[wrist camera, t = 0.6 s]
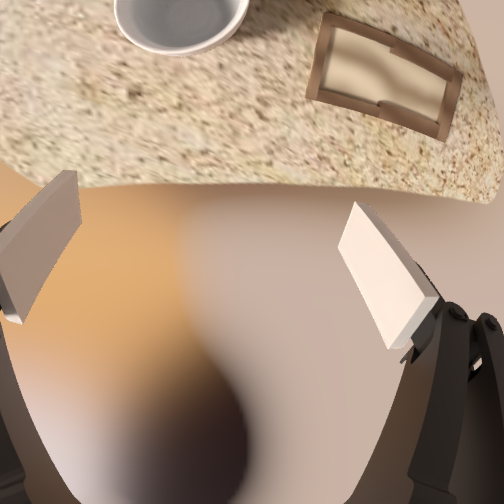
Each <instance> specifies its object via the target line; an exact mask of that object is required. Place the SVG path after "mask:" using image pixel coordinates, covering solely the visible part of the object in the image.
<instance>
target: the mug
mask: <svg viewBox="0 0 504 504" xmlns="http://www.w3.org/2000/svg"><path fill="white" fill-rule="evenodd" d="M249 2H250V0H114V13H115V18H116V21H117V24H118V26H119V28H120V30H121V31H122V32H123V34H124V35H125V36H126V37H127V38H128V39H129V40H130V41H131V42H133V43H134V44H136V45H137V46H139V47H141V48H143V49H145V50H148V51H151V52H154V53H159V54H162V55H169V56H179V57H180V56H182V57H184V56H192V55H197V54H202V53H205V52H207V51H210V50H212V49H215V48H216V47H218V46H220V45H221V44H223V43H224V42H225V41H227V40H228V39H229V38H230V37H231V36H232V35H233V34H234V33H235V32H236V30H237V29H238V28H239V26H240V24H241V23H242V21H243V19H244V18H245V15H246V13H247V8H248V7H249Z"/></svg>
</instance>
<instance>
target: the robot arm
mask: <svg viewBox="0 0 504 504" xmlns="http://www.w3.org/2000/svg"><path fill="white" fill-rule="evenodd" d="M78 193H79V192H78V180H77V171H74V170H63V171H62V172H61V173H60V174H58V175H57V176H56V177H55V178H54V179H53V180H52V181H51V182H49V183H48V184H47V185H46V186H45V187H44V188H43V189H42V190H41V191H40V192H39V193H38V194H37V195H36V196H35V197H34V198H33V199H32V200H31V201H30V202H29V203H28V204H27V205H26V206H25V207H24V208H23V209H22V210H21V211H20V212H19V213H18V214H17V215H16V216H15V217H14V218H13V219H12V220H11V221H9V222H7V223H6V224H5V225H3V226H2V227H1V228H0V310H1V309H2V311H3V312H4V315H5V317H6V319H7V320H8V321H12V322H15V323H19V324H23V323H24V321H25V319H26V317H27V315H28V313H29V311H30V309H31V307H32V305H33V303H34V301H35V299H36V297H37V295H38V293H39V292H40V290H41V288H42V286H43V284H44V282H45V280H46V279H47V277H48V275H49V274H50V272H51V270H52V268H53V267H54V265H55V264H56V262H57V260H58V258H59V257H60V255H61V254H62V252H63V250H64V249H65V247H66V246H67V244H68V243H69V241H70V239H71V238H72V236H73V235H74V233H75V232H76V230H77V229H78V227H79V226H80V225H81V223H82V220H81V212H80V203H79V194H78ZM338 249H339V251H340V253H341V255H342V257H343V259H344V261H345V263H346V265H347V266H348V268H349V270H350V272H351V274H352V276H353V278H354V280H355V282H356V284H357V286H358V288H359V290H360V292H361V294H362V296H363V298H364V300H365V302H366V304H367V306H368V308H369V310H370V312H371V314H372V316H373V318H374V321H375V323H376V325H377V327H378V329H379V331H380V334H381V335H382V338H383V340H384V342H385V344H386V347H387V349H399V348H403V347H404V346H405V344H406V343H407V342H408V340H409V339H410V338H411V339H412V341H413V343H414V345H413V346H412V348H411V349H410V350H409V351H408V352H407V353H406V355H405V356H404V357H403V358H402V360H401V361H400V363H401V364H402V363H403V362H404V361H405V360H407V361H406V364H405V368H404V371H403V374H402V377H401V381H400V384H399V387H398V390H397V393H396V396H395V399H394V401H393V404H392V407H391V410H390V412H389V415H388V418H387V420H386V423H385V426H384V428H383V430H382V433H381V435H380V438H379V440H378V442H377V445H376V447H375V449H374V452H373V454H372V456H371V458H370V460H369V462H368V465H367V467H366V468H365V471H364V473H363V475H362V477H361V479H360V480H359V482H358V484H357V486H356V488H355V490H354V492H353V494H352V495H351V497H350V498H349V499H348V500H347V501H346V502H345V503H344V504H504V334H503V331H502V328H501V326H500V324H499V323H498V321H497V319H496V318H495V317H494V316H492V315H490V314H488V313H482V314H481V315H480V316H479V318H478V319H477V321H474V320H471V319H469V317H468V315H467V314H466V312H465V311H464V310H463V309H462V308H461V307H460V306H459V305H457V304H455V303H453V302H445V300H444V299H443V298H442V296H441V295H440V293H439V292H438V290H437V289H436V288H435V286H434V285H433V283H432V282H430V279H429V278H428V276H427V275H425V272H424V271H423V269H422V268H421V267H420V266H419V265H418V264H417V263H416V262H415V261H414V260H413V259H412V258H411V256H410V255H409V253H408V252H407V251H406V250H405V248H404V247H403V246H402V245H401V243H400V242H399V241H398V239H397V238H396V237H395V236H394V235H393V233H392V232H391V231H390V229H389V228H388V227H387V226H386V225H385V224H384V222H383V221H382V220H381V219H380V217H379V216H378V215H377V214H376V213H375V211H374V210H373V209H372V208H371V207H370V206H369V204H366V203H361V202H355V203H354V205H353V208H352V211H351V214H350V216H349V219H348V222H347V225H346V227H345V229H344V232H343V235H342V237H341V240H340V243H339V245H338ZM480 358H482V364H481V365H480V366H479V367H478V368H477V369H476V370H475V371H474V367H473V365H474V364H475V363H476V362H477V361H478V360H479V359H480ZM0 504H81V503H80V502H79V501H78V500H77V499H76V498H75V497H74V496H73V495H72V493H71V492H70V490H69V489H68V487H67V486H66V484H65V482H64V481H63V479H62V477H61V476H60V474H59V472H58V471H57V469H56V467H55V465H54V463H53V462H52V460H51V458H50V456H49V454H48V452H47V450H46V448H45V447H44V445H43V443H42V441H41V438H40V436H39V434H38V432H37V430H36V428H35V426H34V423H33V421H32V419H31V417H30V414H29V412H28V409H27V407H26V404H25V402H24V399H23V397H22V394H21V391H20V388H19V385H18V383H17V380H16V377H15V374H14V371H13V367H12V364H11V361H10V357H9V354H8V350H7V346H6V343H5V339H4V335H3V330H2V326H1V323H0Z"/></svg>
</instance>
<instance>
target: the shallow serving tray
mask: <svg viewBox="0 0 504 504" xmlns="http://www.w3.org/2000/svg"><path fill="white" fill-rule="evenodd" d="M462 77H463V74H461V73H460V72H458V71H457V70H455V69H454V68H452V67H450V66H449V65H447V64H445V63H444V62H442V61H440V60H438V59H437V58H435V57H433V56H431V55H429V54H428V53H426V52H424V51H422V50H420V49H418V48H416V47H414V46H412V45H410V44H408V43H406V42H404V41H402V40H400V39H397V38H395V37H393V36H391V35H389V34H386V33H384V32H382V31H379V30H377V29H374V28H372V27H369V26H367V25H364V24H361V23H359V22H356V21H353V20H350V19H347V18H345V17H342V16H338V15H335V14H332V13H329V12H324V13H322V17H321V22H320V27H319V32H318V37H317V42H316V47H315V52H314V56H313V61H312V66H311V71H310V76H309V81H308V85H307V90H306V95H305V98H307V99H311V100H316V101H320V102H324V103H328V104H332V105H336V106H340V107H343V108H347V109H351V110H354V111H358V112H361V113H364V114H368V115H371V116H374V117H377V118H380V119H383V120H386V121H389V122H392V123H395V124H398V125H401V126H404V127H406V128H409V129H412V130H414V131H417V132H419V133H422V134H425V135H427V136H430V137H432V138H434V139H437V140H439V141H441V142H444V143H445V142H446V138H447V135H448V132H449V128H450V125H451V121H452V118H453V114H454V110H455V107H456V103H457V99H458V95H459V90H460V86H461V82H462Z"/></svg>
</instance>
